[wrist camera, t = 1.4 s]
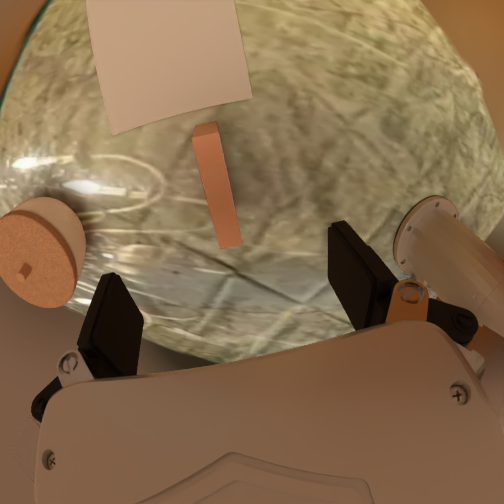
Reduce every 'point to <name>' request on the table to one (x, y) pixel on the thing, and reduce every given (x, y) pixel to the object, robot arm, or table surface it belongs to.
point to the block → (216, 184)
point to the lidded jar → (42, 251)
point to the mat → (166, 57)
